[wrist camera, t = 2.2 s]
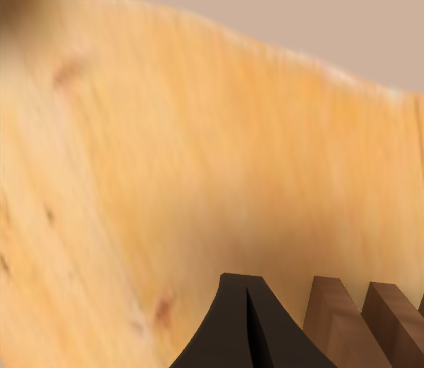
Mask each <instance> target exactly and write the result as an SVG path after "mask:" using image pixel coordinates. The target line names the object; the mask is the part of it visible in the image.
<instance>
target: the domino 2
mask: <svg viewBox="0 0 424 368" xmlns="http://www.w3.org/2000/svg"><path fill="white" fill-rule="evenodd" d="M361 316H362V317H363V319H364V321H365V322H366V324H367V326H368V327H369V329H370V331H371V332H372V334H373V336H374V337H375V339H376V341H377V342H378V344H379V346H380V347H381V349H382V351H383V352H384V354H385V356H386V357H387V359H388V361H389V363H390V364H391V366H392V368H424V318H423V317H422V315H421V314H420V313H419V312H418V311H417V310H416V308H415V307H414V306H413V305H412V304H411V303H410V301H409V300H408V299H407V298H406V297H405V295H404V294H403V293H402V292H401V291H400V290H399V288H398V287H397V286H396V285H395V284H385V283H376V282H370V285H369V289H368V292H367V296H366V299H365V303H364V306H363V310H362V313H361Z"/></svg>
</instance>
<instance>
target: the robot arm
mask: <svg viewBox="0 0 424 368" xmlns="http://www.w3.org/2000/svg"><path fill="white" fill-rule="evenodd" d="M169 368H338V367H337V366H336V365H335V364H334V363H333V362H332V361H330V360H329V359H328V358H327V357H326V356H325V355H324V354H323V353H322V352H321V351H320V350H319V349H318V348H317V347H316V346H315V345H314V344H313V342H312V341H311V340H310V339H309V338H308V337H307V336H306V335H305V333H304V332H303V331H302V330H301V329H300V328H299V327H298V325H297V324H296V323H295V322H294V320H293V319H292V318H291V317H290V315H289V314H288V313H287V311H286V310H285V309H284V307H283V306H282V305H281V303H280V302H279V301H278V299H277V298H276V296H275V295H274V294H273V292H272V291H271V289H270V288H269V286H268V285H267V284H266V282H265V281H264V279H263V278H262V277H259V276H250V275H240V274H231V273H223V274H222V275H220V282H219V288H218V291H217V293H216V296H215V298H214V300H213V303H212V305H211V307H210V309H209V311H208V313H207V315H206V316H205V318H204V320H203V322H202V323H201V325H200V327H199V328H198V330H197V332H196V333H195V335H194V336H193V338H192V339H191V341H190V342H189V343H188V345H187V346H186V347H185V349H184V350H183V351H182V353H181V354H180V355H179V356H178V358H177V359H176V360H175V361H174V362H173V364H172V365H171V366H170V367H169Z"/></svg>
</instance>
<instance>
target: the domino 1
mask: <svg viewBox="0 0 424 368" xmlns="http://www.w3.org/2000/svg"><path fill="white" fill-rule="evenodd" d="M302 331H303V332H304V333H305V335H306V336H307V337H308V338H309V339H310V340H311V341H312V342H313V344H314V345H315V346H316V347H317V348H318V349H319V350H320V351H321V352H322V353H323V354H324V355H325V356H326V357H327V358H328V359H329V360H330V361H332V362H333V363H334V364H335V365H336V366H337V367H338V368H392V366H391V364H390V363H389V361H388V359H387V357H386V356H385V354H384V352H383V351H382V349H381V347H380V346H379V344H378V342H377V341H376V339H375V337H374V336H373V334H372V332H371V331H370V329H369V327H368V326H367V324H366V322H365V321H364V319H363V317H362V316H361V314H360V312H359V311H358V309H357V307H356V306H355V304H354V302H353V301H352V299H351V297H350V296H349V294H348V292H347V291H346V289H345V287H344V286H343V284H342V282H341V281H340V279H337V278H328V277H318V276H314V281H313V285H312V290H311V294H310V299H309V303H308V308H307V312H306V317H305V321H304V326H303V330H302Z"/></svg>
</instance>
